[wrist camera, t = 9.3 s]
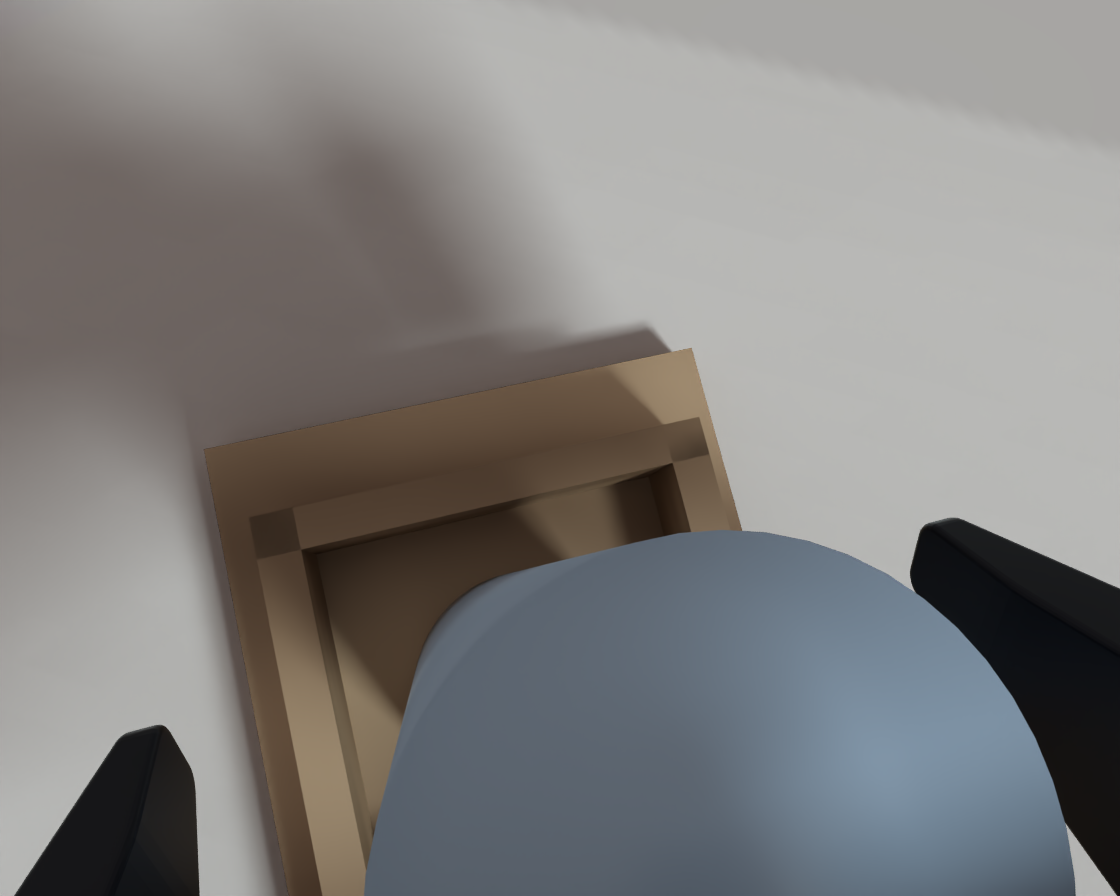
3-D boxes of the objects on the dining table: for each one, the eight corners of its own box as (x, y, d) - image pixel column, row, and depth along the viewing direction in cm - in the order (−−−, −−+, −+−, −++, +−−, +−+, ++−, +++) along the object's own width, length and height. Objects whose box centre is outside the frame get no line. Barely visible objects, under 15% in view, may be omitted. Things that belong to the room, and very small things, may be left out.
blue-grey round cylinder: (643, 799, 18) (1120, 1276, 5) (412, 812, 17) (351, 1399, 5) (636, 569, 18) (1034, 526, 6) (415, 573, 18) (368, 532, 5)
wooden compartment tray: (937, 1300, 18) (1037, 1441, 15) (422, 1533, 16) (419, 1749, 13) (679, 359, 20) (719, 320, 17) (215, 457, 18) (173, 430, 16)
